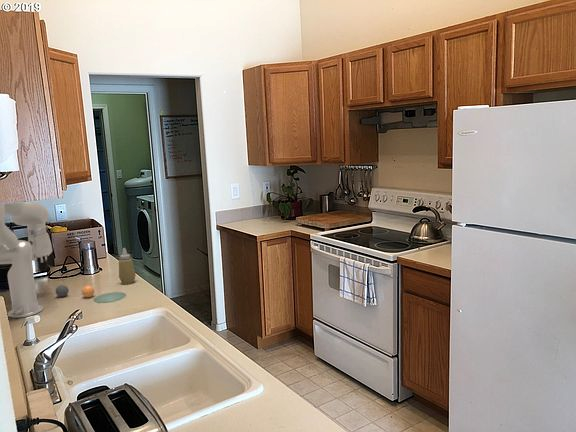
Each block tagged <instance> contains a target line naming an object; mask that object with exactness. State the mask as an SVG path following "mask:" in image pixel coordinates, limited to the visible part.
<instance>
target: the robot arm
mask: <svg viewBox="0 0 576 432" xmlns="http://www.w3.org/2000/svg"><path fill="white" fill-rule="evenodd" d="M32 201H33V202H23V203H13V204H5V205H0V265H10V264H11V267H10V269H9V270H8V272H7V282H8V287H9V293H10V295H9V296H10V301H11V310H9V311H8V312H7V313H6V315H7V314H8V316H7V317H10V318H12V319H13V318H14V319H15V318H18V319H19V318H26V317H30V316H34V315H36V314H38V313H41V312H42V311H43V305H40V304H39V302H38V296H37V289H36V282H35V276H34V270H33V269H34V268H33V262H34V261H35V262H36V263H37V264H38V270H39V272H40V271H46V270H48V265H47V261H48V257H49V256H50V255H51V254H52V253H53V246H52V242H51V239H50V234H49V233H48V232H47V227H46V223H47V222H48V221H49V216H50V215H49V212H48V209H47V208H46V207H45V206H44V205H43V204H41V203H40V202H38V201H35V200H32ZM6 215H7V216H11V219H12V222H13V223H14V224H15V225H17V226H26V227H27V228H26V229H27V235H28V237H27V240H22V239H18V236H17V235H16V234H15V233H14V232H13V231H12V230H11V229H10V228H9V227H8V226H7V225H6V222H5V221H6Z"/></svg>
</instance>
